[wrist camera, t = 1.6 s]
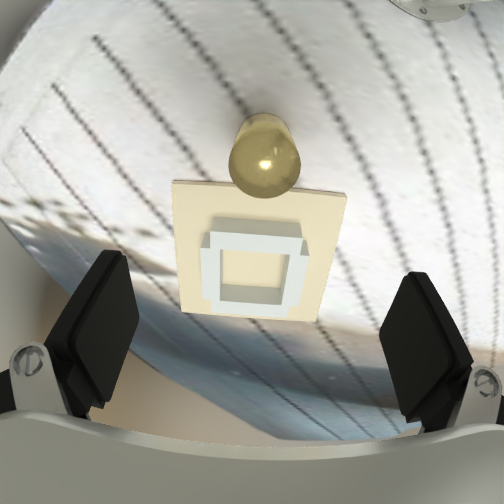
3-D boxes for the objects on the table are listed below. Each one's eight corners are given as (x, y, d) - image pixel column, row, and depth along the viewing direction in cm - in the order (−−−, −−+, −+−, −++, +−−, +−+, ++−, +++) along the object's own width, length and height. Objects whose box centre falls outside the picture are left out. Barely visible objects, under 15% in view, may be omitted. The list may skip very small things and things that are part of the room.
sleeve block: (173, 180, 31) (162, 195, 28) (345, 193, 31) (354, 210, 28) (183, 306, 41) (177, 328, 38) (314, 315, 41) (317, 338, 38)
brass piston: (239, 111, 27) (230, 128, 19) (292, 115, 27) (304, 135, 19) (236, 160, 30) (227, 196, 22) (287, 164, 30) (295, 201, 22)
